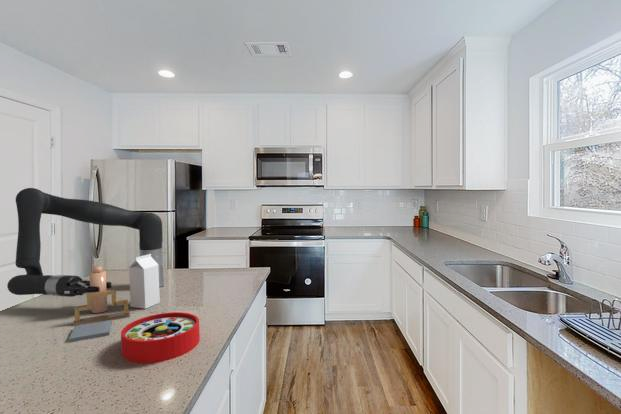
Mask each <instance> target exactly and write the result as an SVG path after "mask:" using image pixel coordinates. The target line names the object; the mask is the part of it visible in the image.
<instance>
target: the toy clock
mask: <svg viewBox="0 0 621 414" xmlns="http://www.w3.org/2000/svg"><path fill="white" fill-rule="evenodd" d="M200 335H201V334H200V319H199V318H198V316H197V315H195V314H192V313H189V312H181V311H180V312H179V311H178V312H177V311H174V312H163V313H157V314H152V315H148V316H144V317H142V318H138V319H136V320H134V321H132V322H130V323H127V325H125V326H124V327H123V328H122V329H121V331H120V341H121V342H120V343H121V345H120V346H121V357H122V358H123V360H126V361H127V362H131V363H134V364H155V363H161V362H165V361H171V360H173V359H176V358H179V357H181V356H184V355H186V354H188V353H190V352H191V351H192V350H193V349H195V348H196V347H197V346H198V345H199V343H200V339H201V338H200V337H201V336H200Z"/></svg>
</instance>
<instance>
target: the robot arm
mask: <svg viewBox="0 0 621 414" xmlns="http://www.w3.org/2000/svg"><path fill="white" fill-rule="evenodd" d="M15 204H16V210H17V220H18V221H17V225H18V229H17V230H18V232H17V242H16V250H15V266H16V267H17V268H19V269H24V270H25V272H26V274H18V275H15V276H13V277H11V278H10V279H9V280H8V282H7V289H8V292H9V293H11V294H12V295H17V296H26V295H29V296H30V295H47V296H56V297H67V298H68V297H69V298H70V297H71V298H72V297H76V296H83V295H84V294H85V295H87V293H92V292H100V288H99V287H96V286H90V279H82V278H81V276H79V275H66V274H65V275H64V274H58V275H57V274H56V275H51V274H50V275H48V274H47V275H44V273H43V269H42V265H41V263H40V260H41V251H42V250H41V248H42V247H41V246H42V245H41V244H42V243H41V228H40V227H41V218H42V214H44V215H55V216H59V217H60V216H61V217H65V218H68V219H72V220H75V221H79V222H83V223H86V224H92V225H98V226H99V225H100V226H108V227H109V226H111V227H113V226H114V227H118V226H119V227H126V228H129V229H130V228H131V229H134V230H138V235H139V243H138V244H139V245H138V246H139V256H144V255H148V254H151V257H152V258H153V259H154V260H155V261H156V262H157V264H158V269H159V288H160V287H162V288H163V287H164V286H165V282H164V279H165V277H164V264H163V261H164V260H163V222H162V219H161V217H160V216H159V215H158V214H156V213H154V212H145V211H143V212H142V211H135V210H130V209H125V208H121V207H119V206H115V205H111V204H108V203H106V202H99V201H94V200H88V199H79V198H77V199H76V198H66V197H61V196H58V195H54V194H50V193H47V192H44V191H42V190H40V189H38V188H34V187H27V188H23V189H22V190H20V191H18V193H17V194H16V195H15ZM106 286H107V289H111V288H112V282H111V281H106Z"/></svg>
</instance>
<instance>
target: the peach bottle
mask: <svg viewBox="0 0 621 414" xmlns="http://www.w3.org/2000/svg"><path fill="white" fill-rule="evenodd" d="M89 280H90V286H96V287H99V288H100V291H108V288H107V286H106V282H107V271H106V270H103V265H96V266H93V267H92V271H91V272H89ZM90 310H91V311H90V312H91V314H100V313H103V312H106V311H107V310H108V295H104V296H96V297H92V309H90Z"/></svg>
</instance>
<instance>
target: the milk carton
mask: <svg viewBox="0 0 621 414" xmlns="http://www.w3.org/2000/svg"><path fill="white" fill-rule="evenodd" d="M128 274H129V275H128V276H129V297H130V298H129V299H130V307H131V308H137V309H142V310H143V309H144V310H145V309H148V308H151V307H153V306H155V305H157V304H160V303H161V300H160V295H161V294H160V287H159V269H158V264H157V262H156V261H155V260H154V259H153V258H152V257H151V254H148V255H144V256H140V255H139V256H135V260H134V262H133V263H132V264H130V266H129V267H128Z"/></svg>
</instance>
